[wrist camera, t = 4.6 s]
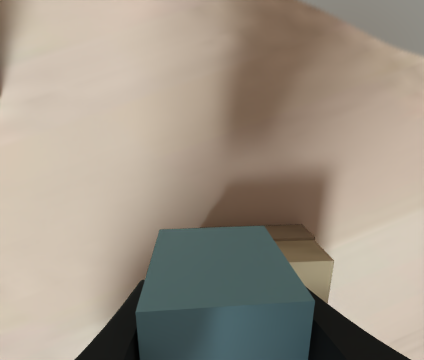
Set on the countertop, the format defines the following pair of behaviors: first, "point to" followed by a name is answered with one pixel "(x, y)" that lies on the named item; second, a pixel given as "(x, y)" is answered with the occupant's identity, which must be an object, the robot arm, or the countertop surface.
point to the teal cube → (222, 298)
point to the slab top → (309, 265)
